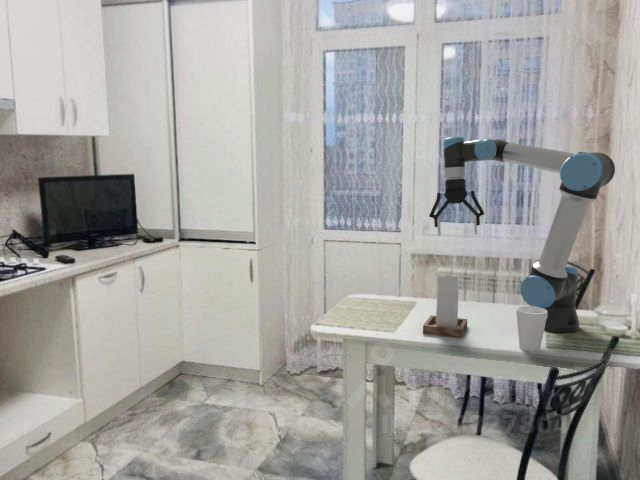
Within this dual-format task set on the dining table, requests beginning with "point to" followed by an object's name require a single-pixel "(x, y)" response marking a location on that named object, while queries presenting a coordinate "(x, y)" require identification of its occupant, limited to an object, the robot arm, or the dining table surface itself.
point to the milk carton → (447, 301)
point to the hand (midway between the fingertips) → (457, 235)
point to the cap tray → (444, 328)
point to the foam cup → (531, 327)
